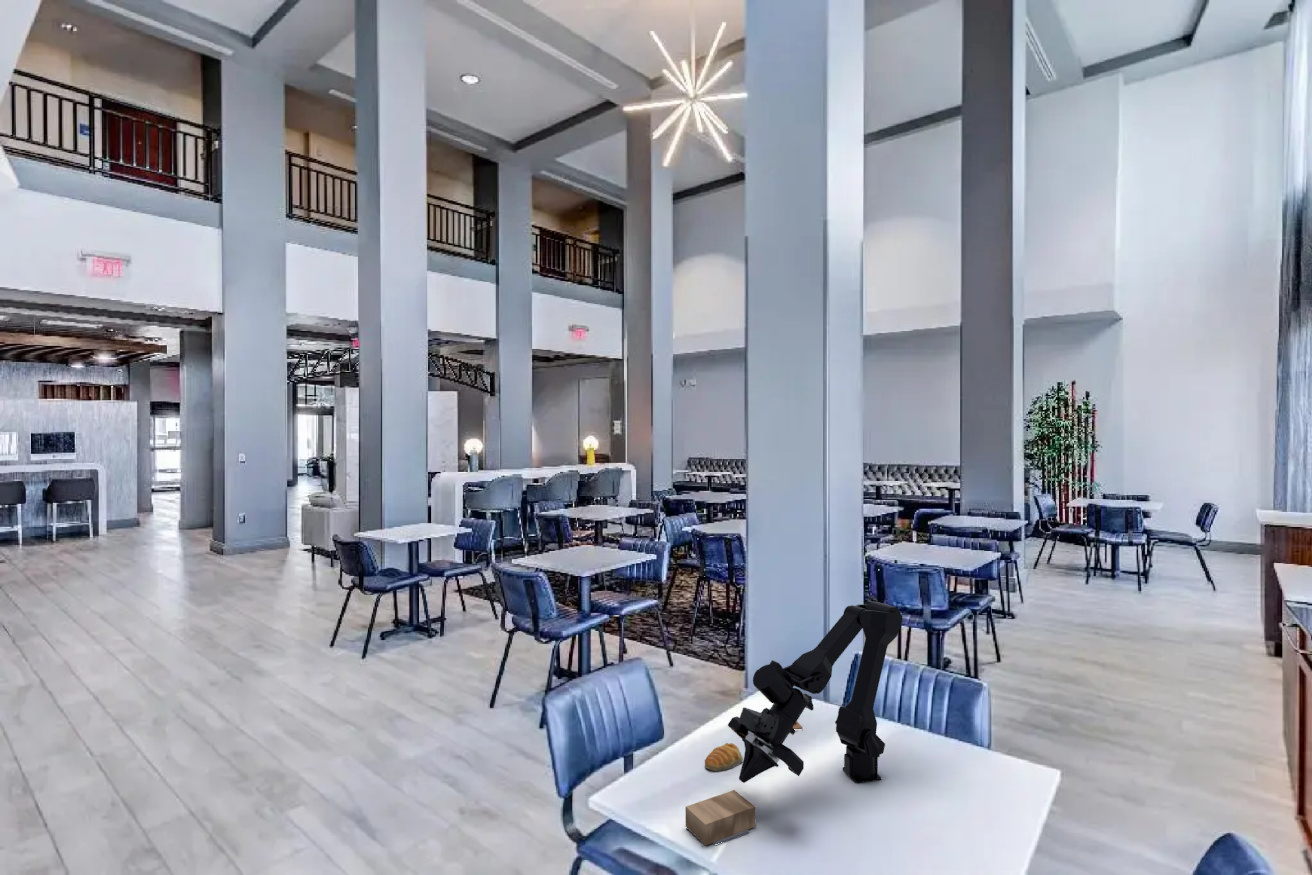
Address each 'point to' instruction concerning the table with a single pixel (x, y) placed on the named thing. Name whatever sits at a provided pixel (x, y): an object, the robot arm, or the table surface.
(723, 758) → the pastry
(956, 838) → the table surface
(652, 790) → the table surface
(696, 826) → the block
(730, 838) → the mat
